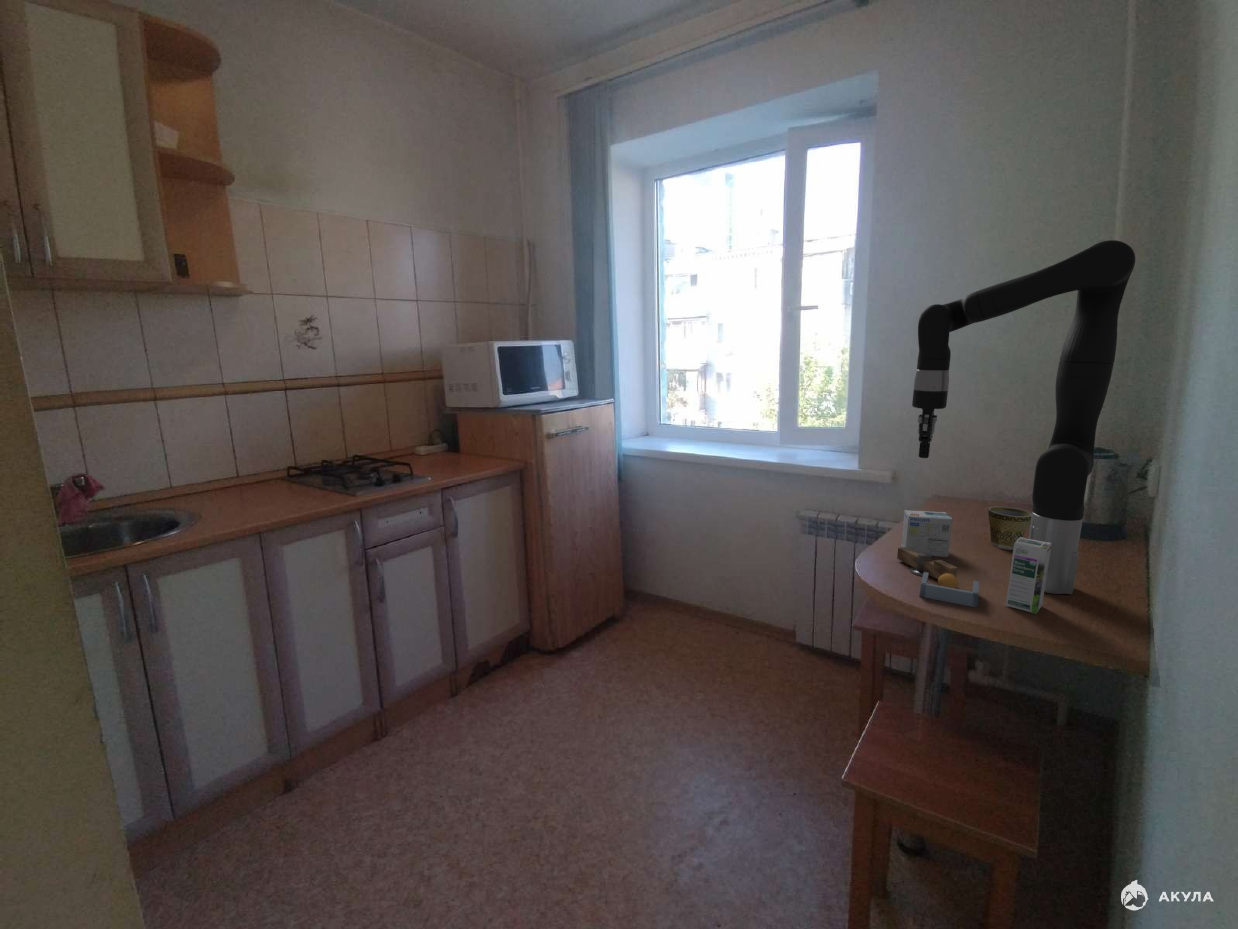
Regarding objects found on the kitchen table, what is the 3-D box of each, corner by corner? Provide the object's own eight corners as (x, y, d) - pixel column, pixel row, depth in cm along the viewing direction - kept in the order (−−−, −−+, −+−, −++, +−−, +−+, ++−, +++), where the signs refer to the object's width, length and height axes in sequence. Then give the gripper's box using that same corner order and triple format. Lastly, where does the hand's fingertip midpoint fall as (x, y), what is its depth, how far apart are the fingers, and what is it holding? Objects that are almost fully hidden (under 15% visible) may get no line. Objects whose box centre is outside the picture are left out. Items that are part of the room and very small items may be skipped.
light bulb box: (942, 549, 159) (946, 511, 156) (949, 558, 152) (953, 518, 150) (899, 546, 161) (903, 508, 159) (904, 554, 155) (908, 515, 153)
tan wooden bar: (957, 583, 135) (959, 567, 134) (946, 585, 134) (948, 568, 133) (905, 557, 151) (906, 543, 150) (895, 559, 150) (896, 544, 149)
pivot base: (937, 570, 144) (937, 569, 144) (936, 578, 139) (936, 577, 139) (910, 565, 147) (910, 564, 147) (908, 573, 142) (908, 572, 142)
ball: (953, 573, 129) (960, 591, 129) (954, 570, 133) (961, 587, 132) (934, 577, 132) (940, 594, 131) (936, 573, 135) (942, 590, 134)
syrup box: (1004, 606, 124) (1013, 542, 121) (1011, 598, 128) (1020, 535, 125) (1036, 615, 120) (1046, 548, 117) (1042, 606, 124) (1052, 541, 121)
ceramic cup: (1025, 555, 154) (1031, 518, 152) (982, 547, 160) (986, 512, 158) (1028, 541, 164) (1033, 507, 162) (987, 535, 170) (991, 502, 168)
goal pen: (977, 594, 130) (979, 581, 130) (977, 607, 124) (978, 594, 123) (922, 584, 136) (923, 571, 135) (919, 596, 129) (920, 583, 129)
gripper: (946, 391, 135) (938, 463, 139) (949, 387, 146) (942, 454, 150) (911, 389, 139) (904, 460, 143) (916, 386, 150) (909, 452, 154)
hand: (923, 457), depth 146 cm, fingers closed
